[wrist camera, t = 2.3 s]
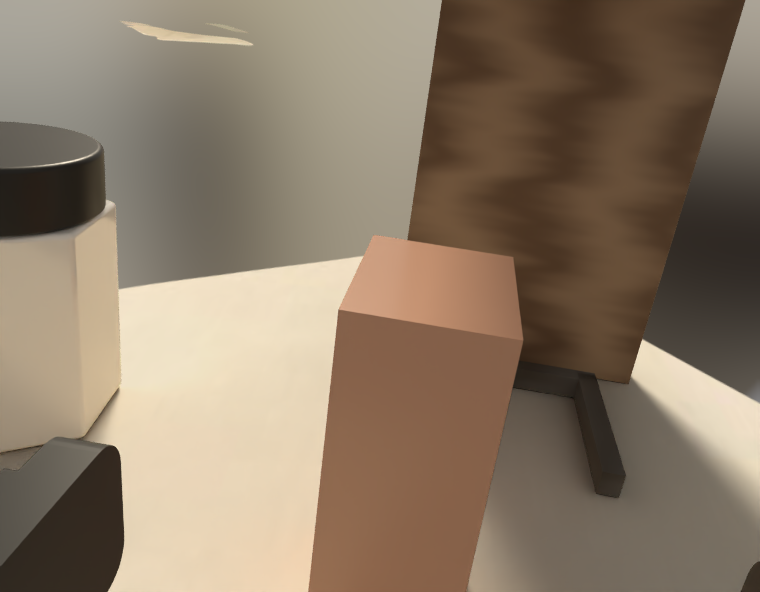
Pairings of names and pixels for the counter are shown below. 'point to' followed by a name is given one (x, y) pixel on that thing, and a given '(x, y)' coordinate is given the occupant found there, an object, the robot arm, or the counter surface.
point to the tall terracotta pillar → (414, 417)
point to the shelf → (571, 171)
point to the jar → (55, 285)
